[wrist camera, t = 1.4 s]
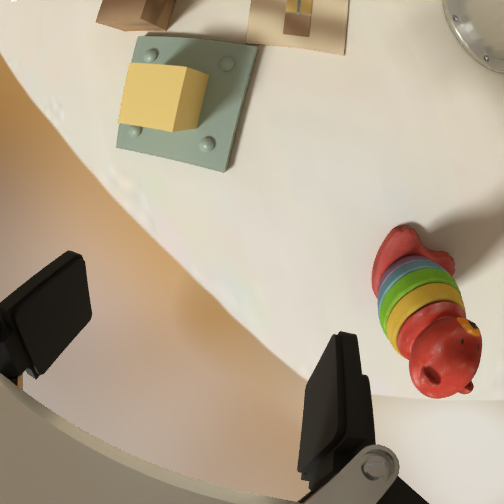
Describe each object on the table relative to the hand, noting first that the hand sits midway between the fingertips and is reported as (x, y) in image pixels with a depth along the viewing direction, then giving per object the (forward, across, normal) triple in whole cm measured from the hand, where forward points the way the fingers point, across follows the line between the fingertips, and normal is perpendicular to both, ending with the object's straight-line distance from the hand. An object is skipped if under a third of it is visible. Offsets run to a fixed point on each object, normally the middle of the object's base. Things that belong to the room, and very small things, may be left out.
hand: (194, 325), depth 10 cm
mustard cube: (+23, +12, -7) cm, 27 cm away
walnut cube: (+24, +18, -18) cm, 35 cm away
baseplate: (+24, +12, -7) cm, 27 cm away
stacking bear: (+24, -19, +6) cm, 31 cm away
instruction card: (+24, +1, -20) cm, 31 cm away
